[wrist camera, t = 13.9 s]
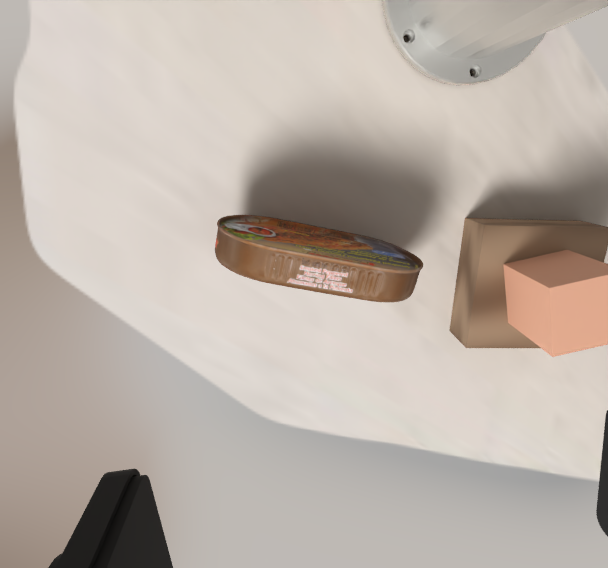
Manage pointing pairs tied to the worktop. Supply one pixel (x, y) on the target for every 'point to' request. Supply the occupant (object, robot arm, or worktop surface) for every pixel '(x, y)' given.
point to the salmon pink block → (559, 301)
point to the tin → (316, 258)
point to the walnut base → (490, 272)
